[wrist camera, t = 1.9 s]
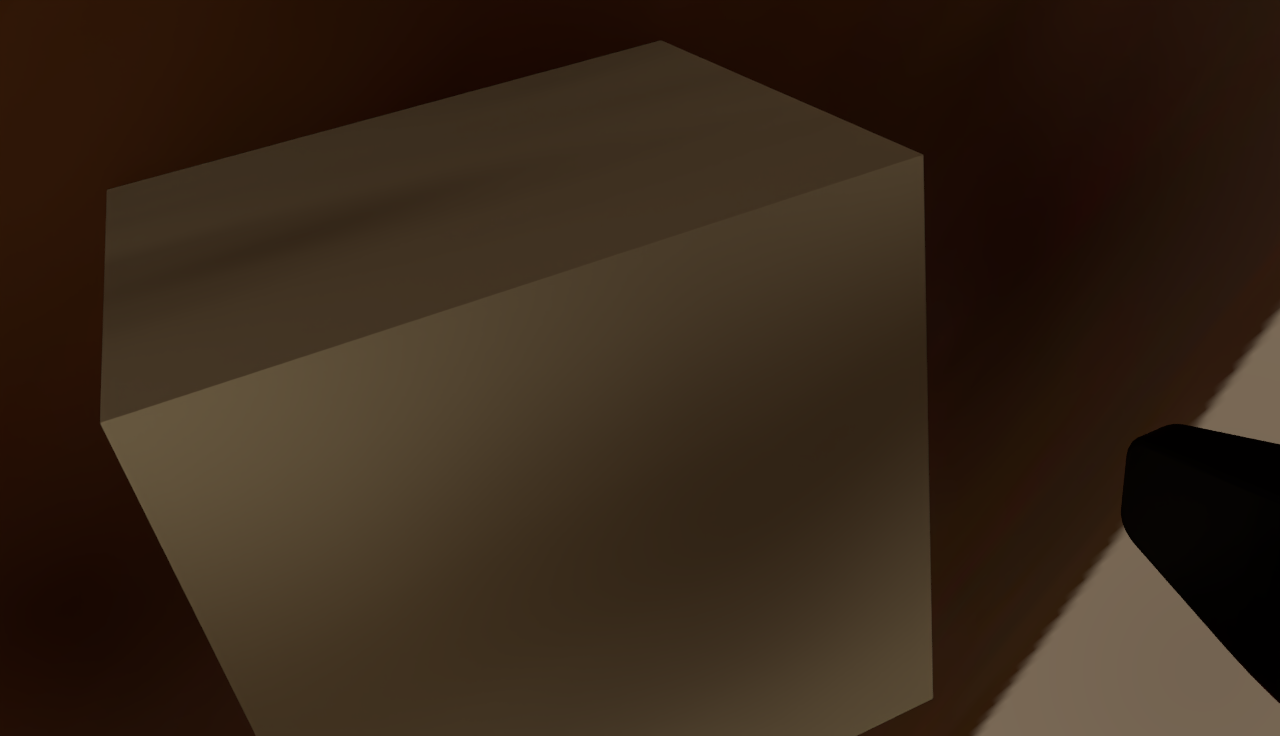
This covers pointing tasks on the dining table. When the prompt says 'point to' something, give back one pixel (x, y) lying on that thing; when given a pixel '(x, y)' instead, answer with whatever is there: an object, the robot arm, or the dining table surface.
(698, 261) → the birch block
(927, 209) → the dining table surface
